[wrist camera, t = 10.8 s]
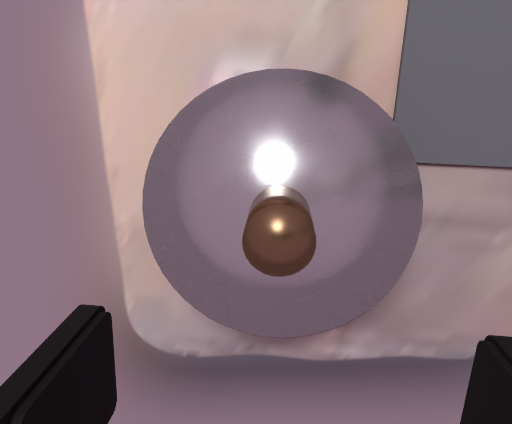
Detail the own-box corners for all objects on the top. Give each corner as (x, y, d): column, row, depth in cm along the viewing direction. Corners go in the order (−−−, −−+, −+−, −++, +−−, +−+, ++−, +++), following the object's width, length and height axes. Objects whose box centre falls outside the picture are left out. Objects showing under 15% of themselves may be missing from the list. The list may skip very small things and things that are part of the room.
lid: (438, 74, 22) (484, 69, 17) (399, 338, 27) (426, 396, 22) (141, 64, 23) (101, 57, 18) (151, 322, 28) (121, 375, 22)
